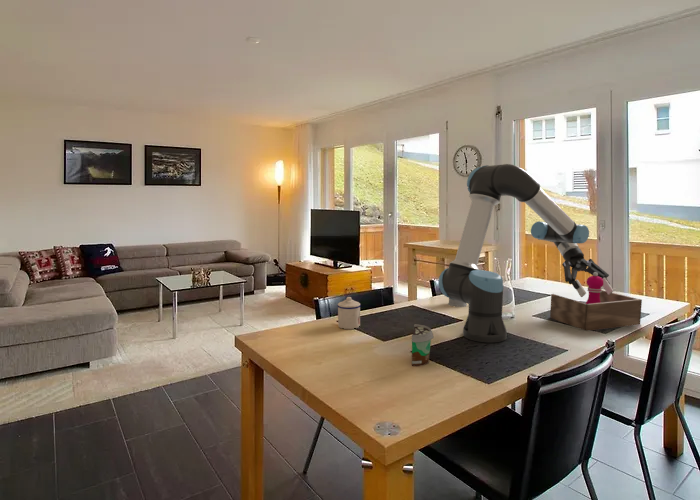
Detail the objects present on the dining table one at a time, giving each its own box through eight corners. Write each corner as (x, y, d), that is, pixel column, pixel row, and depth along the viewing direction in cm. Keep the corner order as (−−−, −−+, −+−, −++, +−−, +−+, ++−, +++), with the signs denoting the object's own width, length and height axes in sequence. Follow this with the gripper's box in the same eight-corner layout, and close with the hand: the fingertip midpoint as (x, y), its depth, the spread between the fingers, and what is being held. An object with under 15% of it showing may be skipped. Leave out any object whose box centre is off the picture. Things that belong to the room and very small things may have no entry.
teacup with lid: (364, 328, 172) (363, 299, 171) (341, 330, 169) (341, 301, 168) (353, 320, 183) (353, 292, 182) (332, 322, 180) (332, 294, 179)
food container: (432, 369, 131) (432, 336, 129) (411, 368, 132) (411, 335, 131) (433, 354, 143) (433, 324, 141) (413, 353, 144) (414, 323, 143)
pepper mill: (603, 319, 180) (606, 271, 178) (602, 324, 174) (605, 274, 172) (583, 317, 184) (586, 270, 182) (581, 321, 178) (584, 272, 176)
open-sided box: (550, 317, 184) (551, 294, 183) (600, 312, 191) (601, 289, 190) (586, 330, 166) (587, 304, 165) (640, 324, 173) (641, 299, 172)
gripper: (589, 256, 195) (616, 296, 183) (541, 259, 189) (566, 301, 176) (599, 245, 190) (628, 286, 177) (551, 248, 183) (577, 290, 170)
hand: (597, 294), depth 177 cm, fingers open, 13 cm apart
